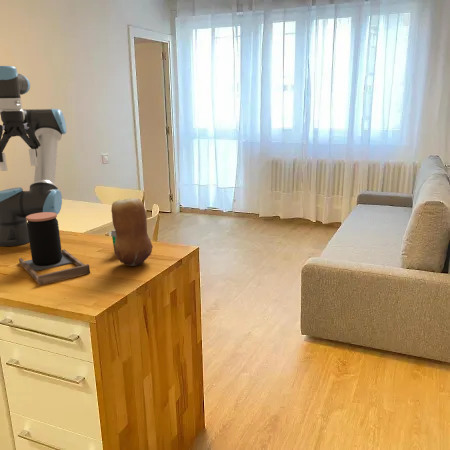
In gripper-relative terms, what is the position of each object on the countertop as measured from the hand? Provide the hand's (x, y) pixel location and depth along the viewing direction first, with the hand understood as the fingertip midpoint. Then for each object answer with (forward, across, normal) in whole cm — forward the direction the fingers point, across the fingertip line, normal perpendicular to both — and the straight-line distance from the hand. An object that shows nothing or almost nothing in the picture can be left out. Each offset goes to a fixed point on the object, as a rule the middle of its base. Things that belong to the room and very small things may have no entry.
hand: (19, 168), depth 169 cm
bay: (+35, -8, -20) cm, 41 cm away
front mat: (+35, -5, -14) cm, 38 cm away
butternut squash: (+35, +6, -46) cm, 58 cm away
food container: (+35, +18, -33) cm, 51 cm away
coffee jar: (+34, -5, -14) cm, 37 cm away
